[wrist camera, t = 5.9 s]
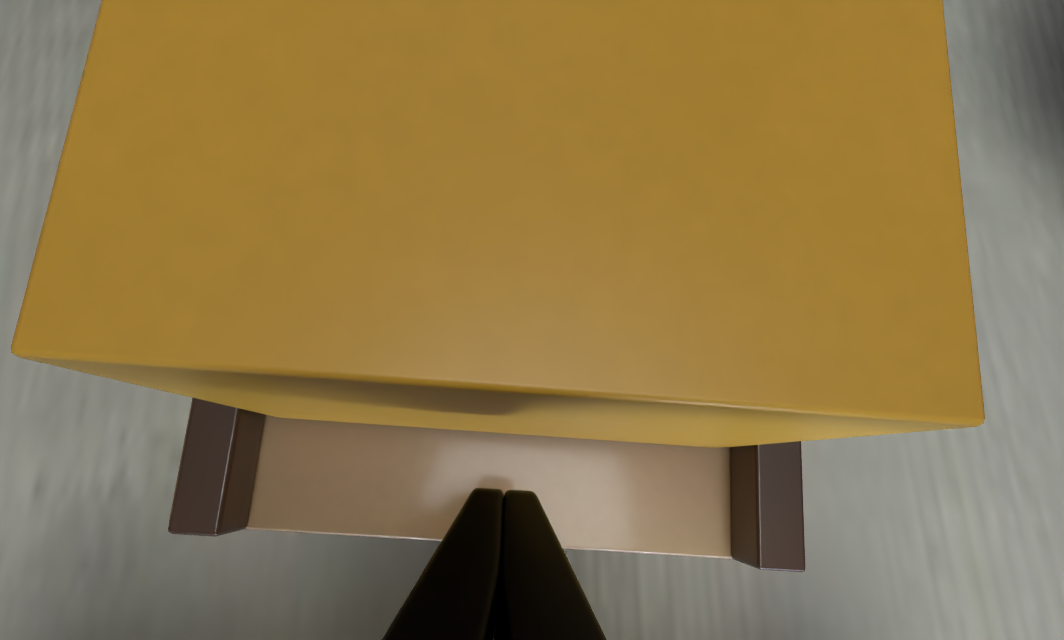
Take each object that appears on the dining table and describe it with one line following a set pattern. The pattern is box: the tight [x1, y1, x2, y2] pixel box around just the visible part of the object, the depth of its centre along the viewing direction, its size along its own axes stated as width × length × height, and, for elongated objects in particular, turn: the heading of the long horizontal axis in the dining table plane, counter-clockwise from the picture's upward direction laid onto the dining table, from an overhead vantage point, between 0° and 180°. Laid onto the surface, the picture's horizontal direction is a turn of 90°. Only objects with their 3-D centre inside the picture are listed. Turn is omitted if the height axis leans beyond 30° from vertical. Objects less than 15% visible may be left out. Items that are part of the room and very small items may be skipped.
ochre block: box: [11, 0, 985, 448], centre depth 11 cm, size 6×10×8 cm, turn 86°
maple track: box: [168, 398, 805, 572], centre depth 16 cm, size 22×14×3 cm, turn 176°
